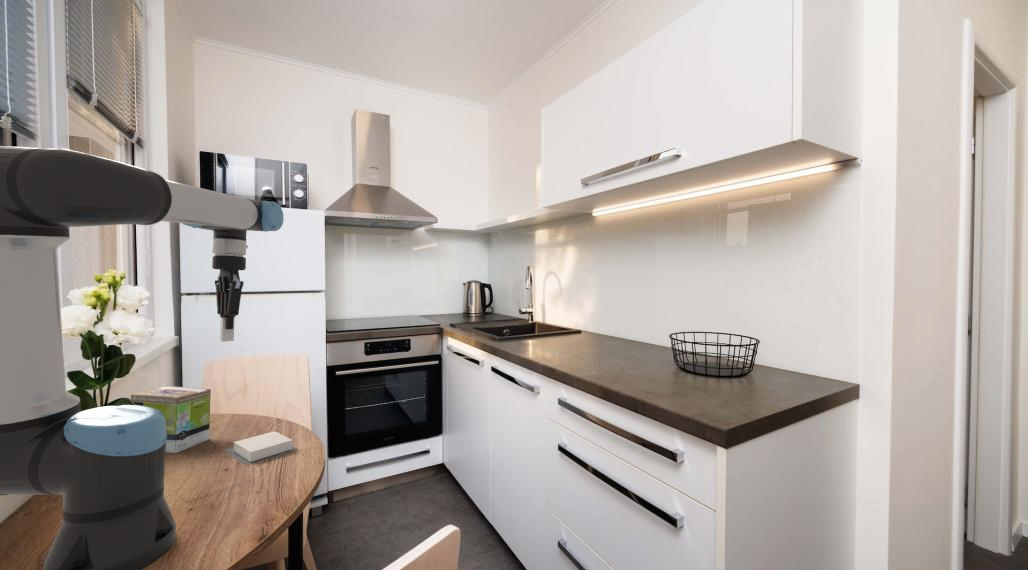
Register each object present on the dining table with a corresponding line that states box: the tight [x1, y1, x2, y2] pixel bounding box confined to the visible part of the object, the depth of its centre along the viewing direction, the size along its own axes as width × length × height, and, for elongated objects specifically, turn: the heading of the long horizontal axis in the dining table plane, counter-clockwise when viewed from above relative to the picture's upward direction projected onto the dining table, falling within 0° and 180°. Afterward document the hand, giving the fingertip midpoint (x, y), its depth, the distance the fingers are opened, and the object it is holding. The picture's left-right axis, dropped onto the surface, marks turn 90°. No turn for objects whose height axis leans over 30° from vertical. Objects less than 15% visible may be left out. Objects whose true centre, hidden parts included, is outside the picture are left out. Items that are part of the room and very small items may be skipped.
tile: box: [233, 431, 294, 462], centre depth 104 cm, size 10×3×10 cm
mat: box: [223, 446, 298, 466], centre depth 105 cm, size 12×14×1 cm
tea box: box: [130, 385, 212, 454], centre depth 108 cm, size 15×10×15 cm
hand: (226, 340), depth 110 cm, fingers closed
